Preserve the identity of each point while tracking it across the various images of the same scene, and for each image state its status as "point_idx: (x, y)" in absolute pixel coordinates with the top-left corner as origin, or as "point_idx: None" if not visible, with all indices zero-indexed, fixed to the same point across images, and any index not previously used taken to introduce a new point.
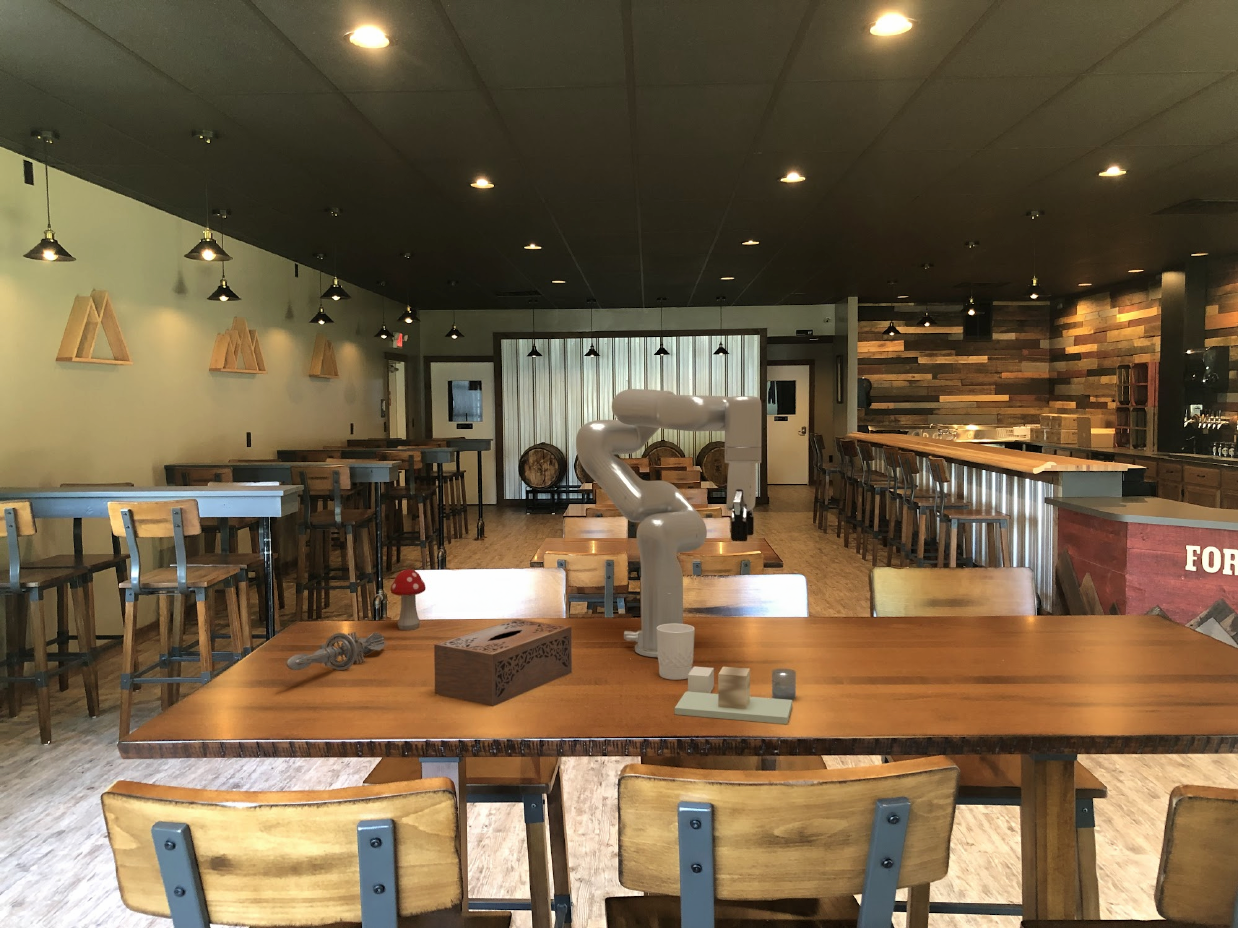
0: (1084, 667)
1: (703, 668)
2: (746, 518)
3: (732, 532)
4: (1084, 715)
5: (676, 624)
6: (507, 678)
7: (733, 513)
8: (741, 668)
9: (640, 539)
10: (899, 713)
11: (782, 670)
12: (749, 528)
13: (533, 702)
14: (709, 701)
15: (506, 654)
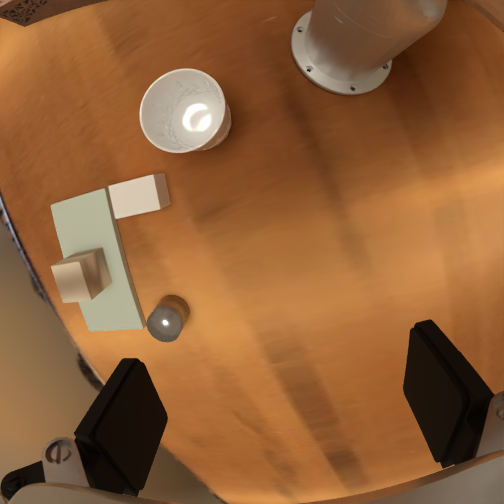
0: (394, 484)
1: (149, 194)
2: (445, 433)
3: (109, 389)
4: (258, 494)
5: (220, 94)
6: (27, 13)
7: (9, 474)
8: (85, 289)
9: None
10: (188, 415)
11: (168, 324)
12: (417, 401)
13: (39, 44)
14: (85, 235)
15: (8, 6)
